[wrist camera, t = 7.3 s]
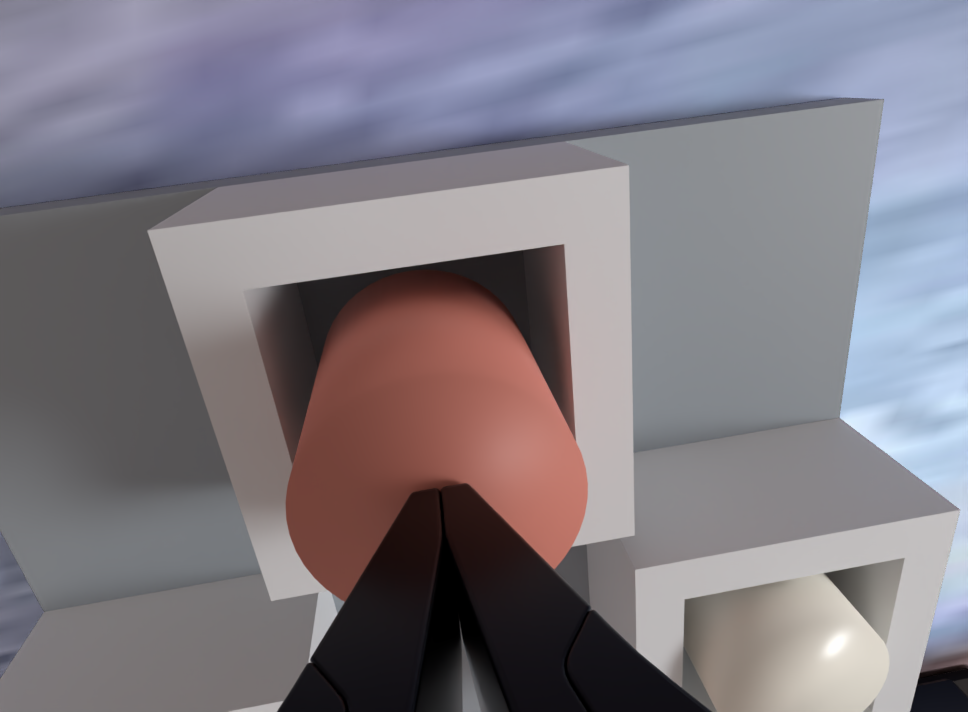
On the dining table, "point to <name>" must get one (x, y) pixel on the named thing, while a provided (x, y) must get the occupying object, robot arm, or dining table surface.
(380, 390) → the red plug
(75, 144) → the dining table surface
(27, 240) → the panel
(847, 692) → the plug
